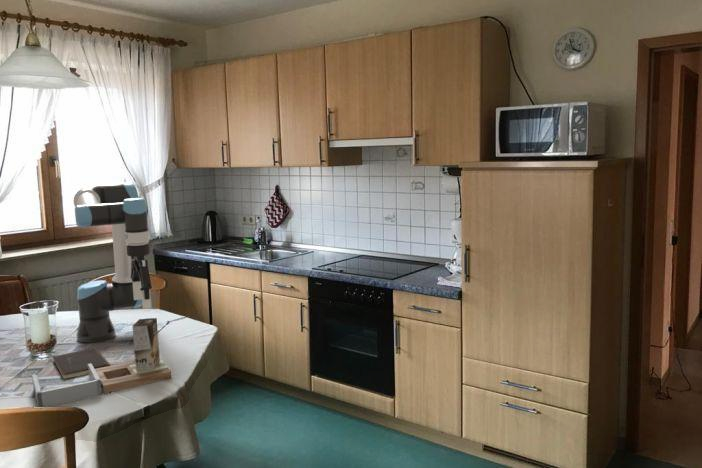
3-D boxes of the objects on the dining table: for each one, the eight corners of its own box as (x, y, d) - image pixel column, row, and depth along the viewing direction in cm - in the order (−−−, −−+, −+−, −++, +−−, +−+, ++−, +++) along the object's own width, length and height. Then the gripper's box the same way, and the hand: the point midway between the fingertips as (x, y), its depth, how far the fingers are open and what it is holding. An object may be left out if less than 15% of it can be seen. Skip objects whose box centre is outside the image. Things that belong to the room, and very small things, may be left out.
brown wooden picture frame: (94, 375, 216) (94, 368, 215) (158, 362, 227) (157, 355, 227) (103, 393, 201) (103, 385, 200) (171, 378, 212) (171, 370, 211)
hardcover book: (63, 380, 214) (62, 374, 213) (52, 362, 233) (52, 356, 232) (111, 370, 222) (110, 364, 222) (97, 353, 241) (97, 347, 241)
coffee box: (154, 370, 212) (151, 325, 210) (135, 371, 212) (131, 326, 209) (160, 360, 221) (157, 317, 219) (142, 361, 221) (138, 318, 218)
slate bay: (33, 389, 205) (32, 374, 205) (92, 377, 215) (91, 363, 214) (38, 408, 190) (36, 393, 189) (102, 394, 199) (100, 380, 198)
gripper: (118, 239, 219) (123, 297, 223) (134, 250, 198) (139, 314, 202) (140, 237, 223) (145, 294, 227) (158, 247, 202) (162, 310, 205)
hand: (142, 303), depth 214 cm, fingers open, 13 cm apart
